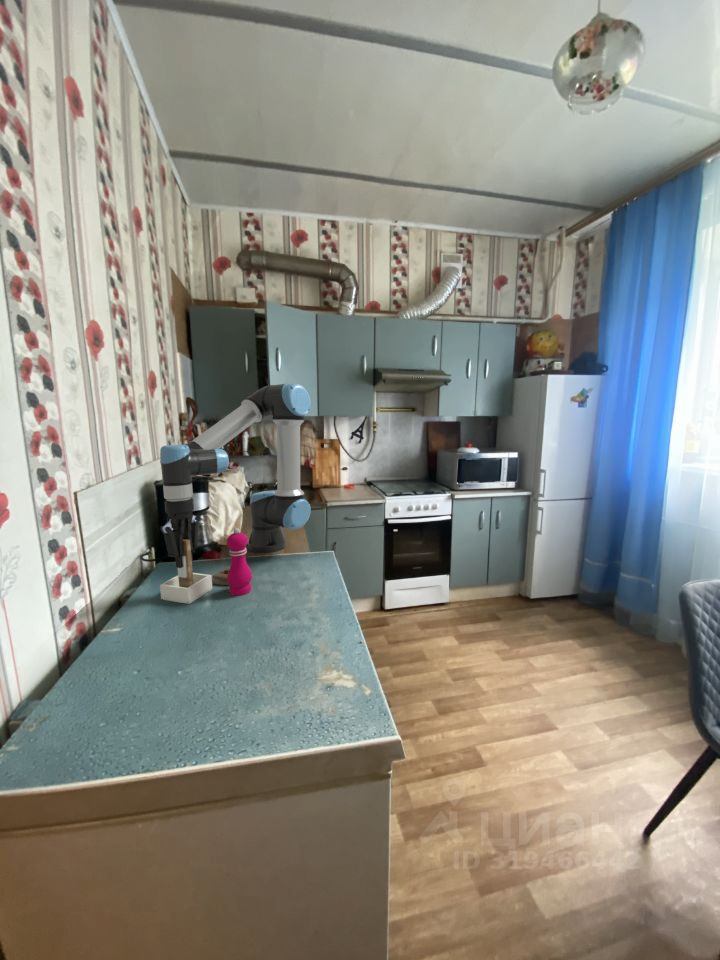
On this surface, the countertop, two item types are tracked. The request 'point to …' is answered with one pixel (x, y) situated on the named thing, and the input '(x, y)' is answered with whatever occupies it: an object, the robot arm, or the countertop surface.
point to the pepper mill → (238, 564)
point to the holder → (221, 577)
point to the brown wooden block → (187, 552)
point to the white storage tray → (186, 589)
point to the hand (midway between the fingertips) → (185, 575)
